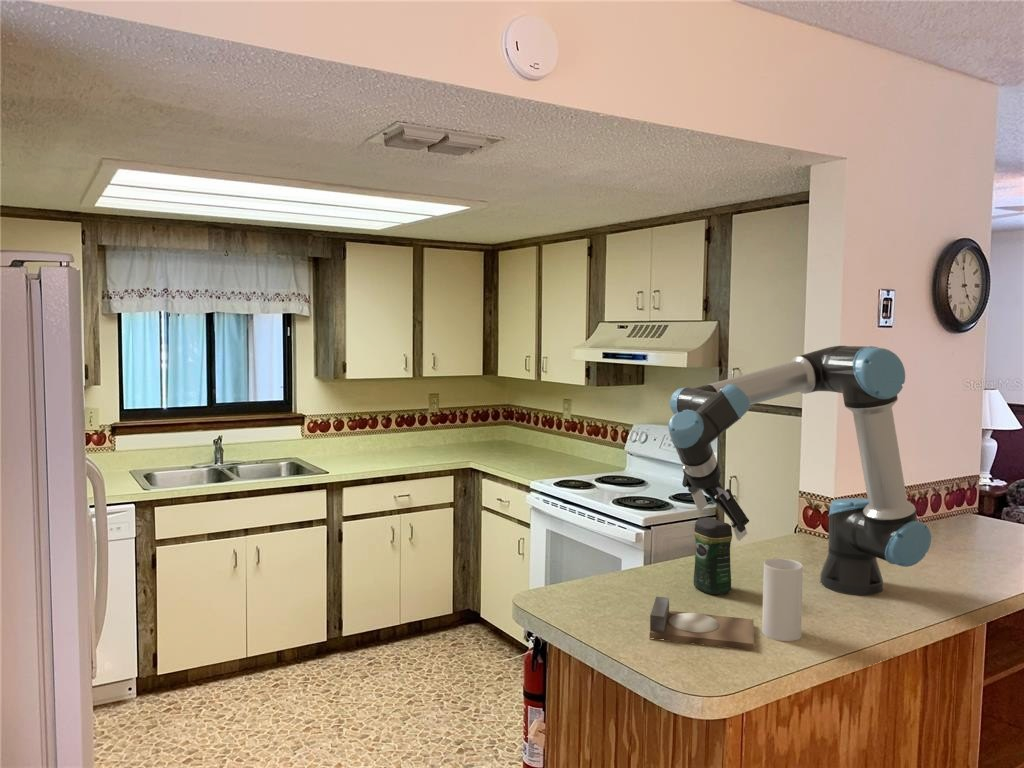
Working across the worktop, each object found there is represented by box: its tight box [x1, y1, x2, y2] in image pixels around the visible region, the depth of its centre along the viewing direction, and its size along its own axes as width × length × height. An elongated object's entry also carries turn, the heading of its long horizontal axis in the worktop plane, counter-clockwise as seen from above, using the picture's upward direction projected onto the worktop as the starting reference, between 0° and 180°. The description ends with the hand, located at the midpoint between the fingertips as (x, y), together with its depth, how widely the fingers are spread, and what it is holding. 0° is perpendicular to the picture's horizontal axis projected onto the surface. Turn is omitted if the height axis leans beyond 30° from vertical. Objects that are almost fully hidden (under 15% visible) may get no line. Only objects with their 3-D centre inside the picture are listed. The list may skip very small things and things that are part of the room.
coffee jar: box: [693, 516, 733, 595], centre depth 200 cm, size 10×8×19 cm
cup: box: [761, 557, 804, 642], centre depth 172 cm, size 8×8×16 cm
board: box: [649, 596, 755, 651], centre depth 174 cm, size 22×14×5 cm, turn 73°
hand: (721, 521), depth 189 cm, fingers open, 13 cm apart
